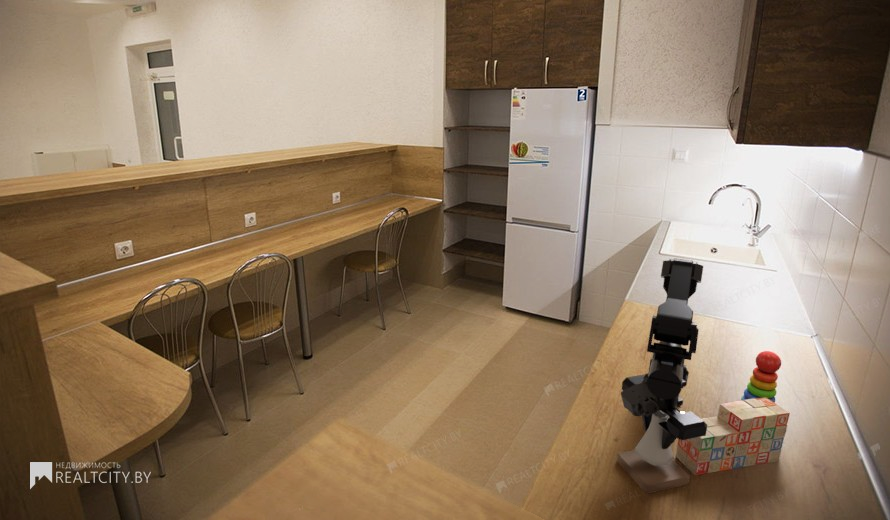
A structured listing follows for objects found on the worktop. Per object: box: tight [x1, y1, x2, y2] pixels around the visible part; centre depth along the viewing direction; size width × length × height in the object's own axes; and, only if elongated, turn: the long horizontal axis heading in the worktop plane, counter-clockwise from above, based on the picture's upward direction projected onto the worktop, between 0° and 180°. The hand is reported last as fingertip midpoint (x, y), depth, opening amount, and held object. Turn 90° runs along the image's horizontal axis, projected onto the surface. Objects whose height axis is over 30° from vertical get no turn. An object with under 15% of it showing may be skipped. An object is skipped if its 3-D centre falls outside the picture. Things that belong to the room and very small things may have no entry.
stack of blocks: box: [675, 397, 791, 476], centre depth 109 cm, size 21×6×12 cm, turn 103°
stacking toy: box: [740, 350, 782, 403], centre depth 121 cm, size 8×8×19 cm
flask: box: [634, 411, 675, 466], centre depth 103 cm, size 7×7×10 cm
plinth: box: [616, 449, 691, 494], centre depth 106 cm, size 10×10×2 cm
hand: (656, 440), depth 104 cm, fingers closed on flask, 5 cm apart
